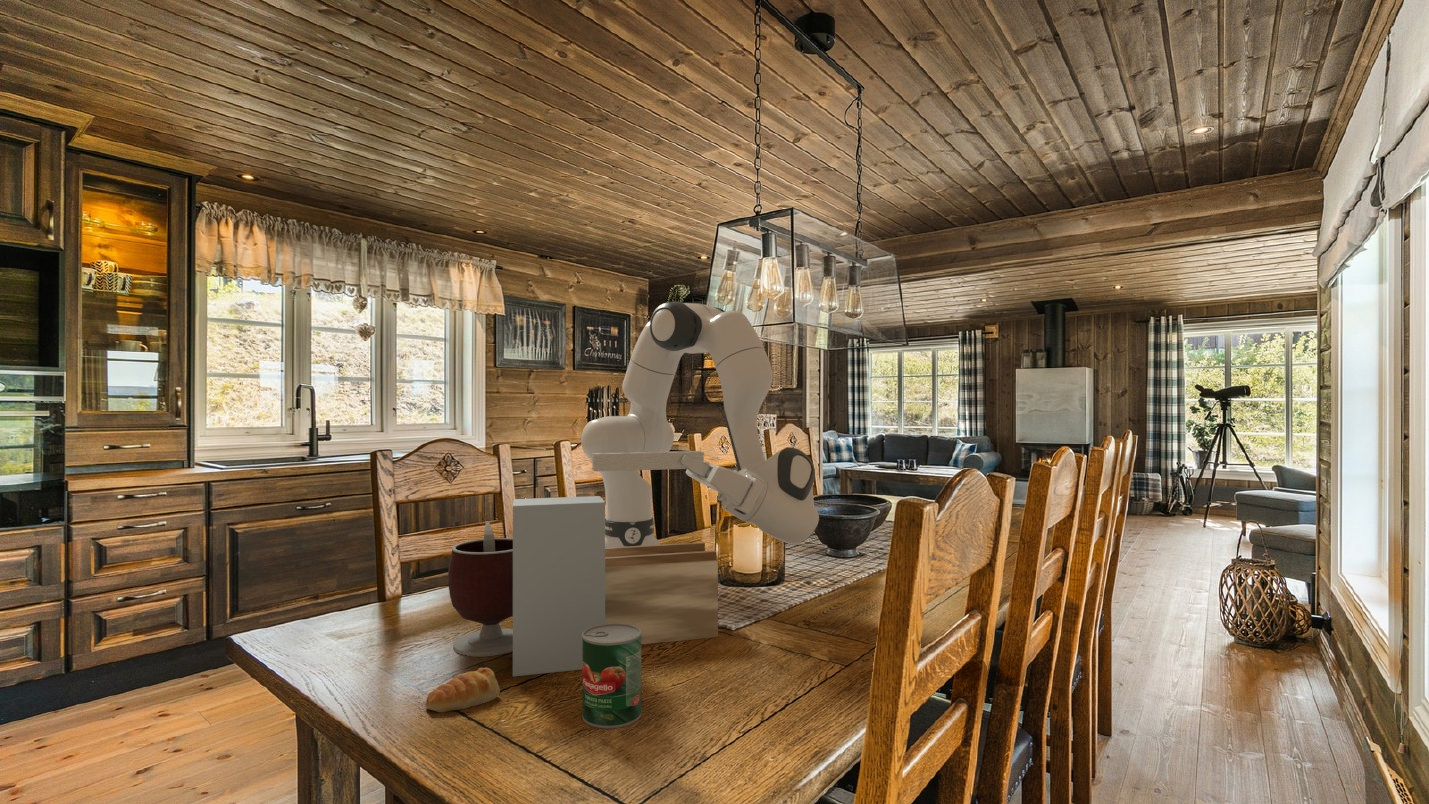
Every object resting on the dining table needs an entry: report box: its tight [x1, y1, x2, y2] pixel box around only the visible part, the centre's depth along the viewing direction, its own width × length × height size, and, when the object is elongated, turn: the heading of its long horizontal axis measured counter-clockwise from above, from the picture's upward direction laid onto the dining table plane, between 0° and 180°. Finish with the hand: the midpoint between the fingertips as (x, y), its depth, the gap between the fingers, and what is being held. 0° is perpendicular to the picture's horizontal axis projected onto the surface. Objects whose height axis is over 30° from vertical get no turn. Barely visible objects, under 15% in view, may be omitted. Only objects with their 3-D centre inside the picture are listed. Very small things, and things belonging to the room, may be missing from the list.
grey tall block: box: [512, 495, 606, 677], centre depth 109 cm, size 8×14×26 cm, turn 106°
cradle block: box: [605, 541, 719, 645], centre depth 123 cm, size 11×23×15 cm, turn 106°
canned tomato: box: [581, 623, 643, 730], centre depth 90 cm, size 8×8×11 cm
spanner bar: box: [591, 450, 705, 472], centre depth 123 cm, size 3×20×3 cm, turn 106°
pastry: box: [425, 666, 501, 713], centre depth 94 cm, size 9×7×4 cm
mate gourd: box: [447, 520, 513, 658], centre depth 118 cm, size 16×14×20 cm
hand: (679, 457), depth 125 cm, fingers closed on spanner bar, 3 cm apart
